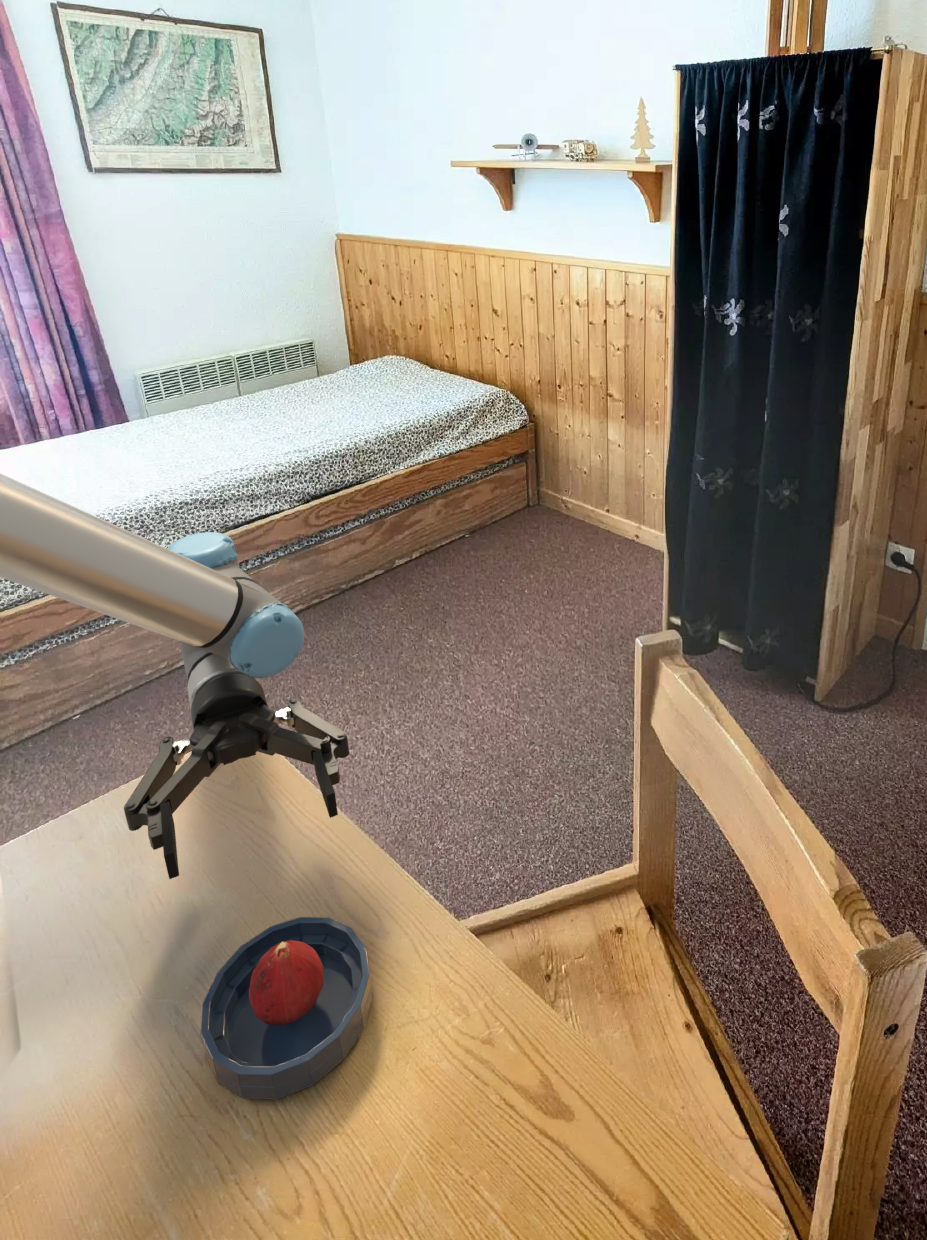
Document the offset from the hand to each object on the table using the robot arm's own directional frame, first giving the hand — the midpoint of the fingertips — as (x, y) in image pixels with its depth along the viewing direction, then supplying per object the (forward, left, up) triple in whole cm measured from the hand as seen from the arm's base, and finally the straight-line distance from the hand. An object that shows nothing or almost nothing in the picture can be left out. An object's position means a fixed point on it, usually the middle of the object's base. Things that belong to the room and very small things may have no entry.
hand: (255, 834), depth 71 cm
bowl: (+5, -8, -12) cm, 15 cm away
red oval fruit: (+5, -8, -12) cm, 15 cm away
